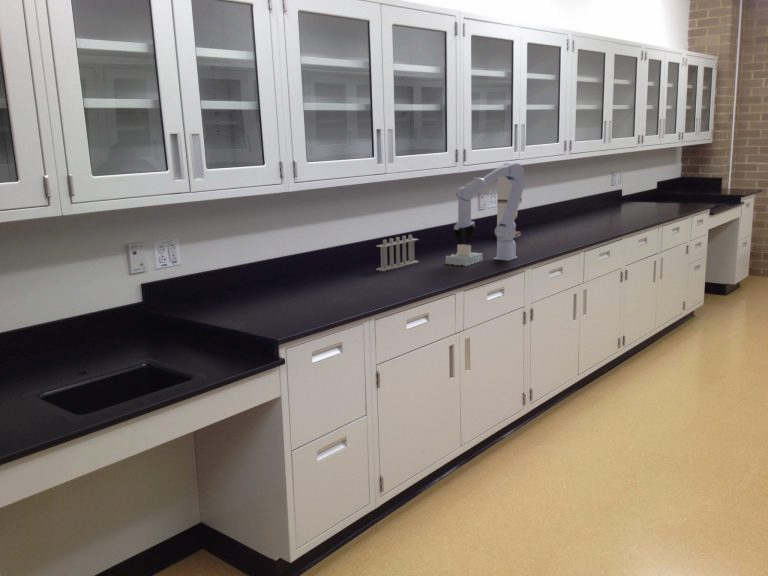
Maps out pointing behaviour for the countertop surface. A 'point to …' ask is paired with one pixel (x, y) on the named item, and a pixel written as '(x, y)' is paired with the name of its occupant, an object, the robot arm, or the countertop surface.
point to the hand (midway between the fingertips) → (464, 243)
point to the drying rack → (464, 259)
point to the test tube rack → (397, 253)
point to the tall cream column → (504, 199)
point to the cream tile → (464, 250)
